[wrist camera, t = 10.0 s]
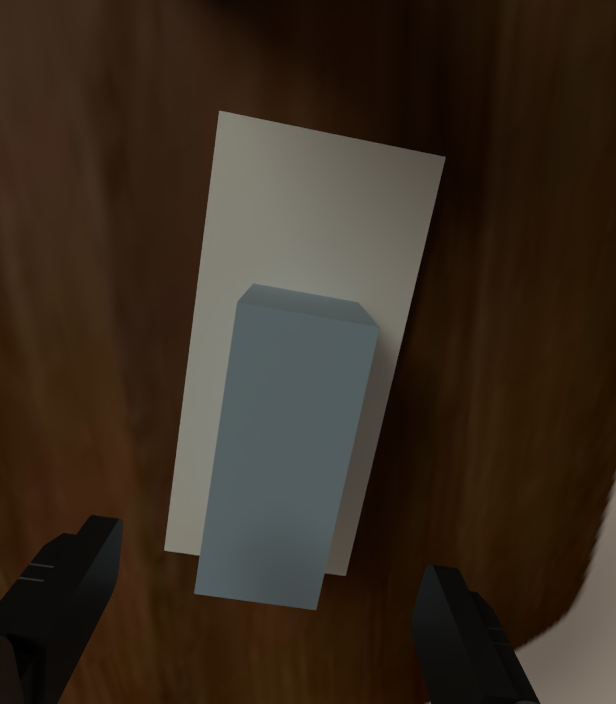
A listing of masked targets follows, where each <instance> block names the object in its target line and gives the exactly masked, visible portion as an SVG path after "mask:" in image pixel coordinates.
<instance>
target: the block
mask: <svg viewBox="0 0 616 704" xmlns="http://www.w3.org/2000/svg"><path fill="white" fill-rule="evenodd" d="M379 328H380V327H379V326H378V325H377V324H376V323H375V321H374V320H373V319H372V318H371V317H370V316H369V314H368V313H367V312H366V311H365V310H364V309H363V307H362V306H361V305H360V304H359V303H358V302H354V301H348V300H343V299H337V298H332V297H326V296H321V295H315V294H309V293H304V292H298V291H293V290H287V289H282V288H276V287H271V286H265V285H260V284H254V283H253V284H252V285H251V287H250V288H249V289H248V290H247V291H246V292H245V294H244V295H243V296H242V297H241V298H240V299H239V301H238V302H237V306H236V313H235V320H234V327H233V333H232V340H231V347H230V354H229V361H228V367H227V374H226V381H225V388H224V395H223V402H222V408H221V415H220V422H219V429H218V436H217V442H216V449H215V456H214V463H213V470H212V476H211V483H210V490H209V497H208V504H207V510H206V517H205V524H204V531H203V538H202V545H201V551H200V558H199V565H198V572H197V579H196V585H195V592H194V594H201V595H208V596H215V597H223V598H230V599H237V600H245V601H252V602H260V603H267V604H274V605H282V606H289V607H296V608H304V609H311V610H316V608H317V604H318V600H319V595H320V591H321V586H322V582H323V577H324V573H325V568H326V564H327V560H328V555H329V551H330V546H331V542H332V537H333V533H334V528H335V524H336V520H337V515H338V511H339V506H340V502H341V497H342V493H343V488H344V484H345V480H346V475H347V471H348V466H349V462H350V457H351V453H352V448H353V444H354V440H355V435H356V431H357V426H358V422H359V417H360V413H361V408H362V404H363V400H364V395H365V391H366V386H367V382H368V377H369V373H370V368H371V364H372V360H373V355H374V351H375V346H376V342H377V337H378V333H379Z"/></svg>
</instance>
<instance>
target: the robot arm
mask: <svg viewBox="0 0 616 704" xmlns="http://www.w3.org/2000/svg"><path fill="white" fill-rule="evenodd" d="M122 529H123V522H122V519H117V518H110V517H103V516H96V515H91V516H90V517H89V518H88V519H87V521H86V522H85V524H84V525H83V526H82V528H81V529H80V531H79V532H78V533H77V535H74V534H67V533H63V534H61V535H60V536H58V537H57V538H55V539H53V540H52V541H50V542H49V543H47V544H46V545H44V546H43V547H42V549H41V550H40V551H39V553H38V554H37V555H36V556H35V558H34V559H33V560H32V561H31V564H30V566H27V568H26V569H25V570H24V572H23V573H22V574H21V575H20V578H19V580H16V582H15V583H14V584H13V585H12V587H11V588H10V589H9V591H8V592H7V593H6V594H5V596H4V597H3V598H2V599H1V601H0V704H57V703H58V701H59V699H60V697H61V695H62V693H63V691H64V689H65V687H66V685H67V683H68V681H69V679H70V677H71V675H72V673H73V671H74V669H75V667H76V665H77V663H78V661H79V659H80V657H81V655H82V653H83V651H84V649H85V647H86V645H87V643H88V641H89V639H90V637H91V635H92V633H93V631H94V629H95V627H96V625H97V623H98V621H99V619H100V617H101V615H102V613H103V611H104V609H105V607H106V605H107V603H108V601H109V599H110V597H111V595H112V593H113V590H114V587H115V584H116V580H117V576H118V571H119V561H120V551H121V540H122ZM412 635H413V640H414V643H415V647H416V650H417V654H418V658H419V661H420V665H421V668H422V672H423V676H424V679H425V683H426V687H427V690H428V694H429V697H430V701H431V704H540V702H539V700H538V698H537V697H536V694H535V692H534V690H533V688H532V686H531V684H530V682H529V680H528V678H527V676H526V674H525V672H524V670H523V668H522V666H521V664H520V662H519V660H518V658H517V656H516V654H515V652H514V650H513V648H512V647H510V642H509V640H508V638H507V637H506V635H505V633H504V631H502V627H501V625H500V623H499V621H498V619H497V617H496V615H495V613H494V611H493V609H492V608H491V607H490V606H489V605H488V604H487V602H486V601H485V600H484V599H483V598H482V597H481V596H480V595H479V594H478V593H477V592H471V591H469V590H468V588H467V586H466V583H465V581H464V579H463V577H462V575H461V573H460V571H459V570H458V569H457V568H450V567H443V566H437V565H428V566H427V567H426V569H425V572H424V575H423V579H422V582H421V585H420V589H419V592H418V596H417V599H416V602H415V606H414V609H413V614H412Z"/></svg>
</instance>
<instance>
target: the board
mask: <svg viewBox="0 0 616 704" xmlns="http://www.w3.org/2000/svg"><path fill="white" fill-rule="evenodd" d="M445 158H446V157H443V156H438V155H433V154H428V153H423V152H419V151H414V150H409V149H404V148H399V147H394V146H389V145H384V144H379V143H375V142H370V141H365V140H360V139H355V138H350V137H345V136H340V135H335V134H330V133H326V132H321V131H316V130H311V129H306V128H301V127H296V126H291V125H286V124H282V123H277V122H272V121H267V120H262V119H257V118H252V117H247V116H242V115H238V114H233V113H228V112H223V111H219V118H218V126H217V134H216V142H215V150H214V158H213V166H212V173H211V181H210V189H209V197H208V205H207V213H206V221H205V229H204V237H203V245H202V253H201V261H200V269H199V277H198V285H197V293H196V301H195V309H194V317H193V325H192V333H191V341H190V349H189V357H188V365H187V373H186V381H185V389H184V397H183V405H182V413H181V421H180V429H179V437H178V445H177V453H176V461H175V469H174V477H173V485H172V493H171V501H170V509H169V517H168V525H167V533H166V541H165V549H164V550H165V551H172V552H179V553H186V554H193V555H200V551H201V545H202V538H203V531H204V524H205V517H206V510H207V504H208V497H209V490H210V483H211V476H212V470H213V463H214V456H215V449H216V442H217V436H218V429H219V422H220V415H221V408H222V402H223V395H224V388H225V381H226V374H227V367H228V361H229V354H230V347H231V340H232V333H233V327H234V320H235V313H236V306H237V302H238V301H239V299H240V298H241V297H242V296H243V295H244V294H245V292H246V291H247V290H248V289H249V288H250V287H251V285H252V284H253V283H254V284H260V285H265V286H271V287H276V288H282V289H287V290H293V291H298V292H304V293H309V294H315V295H321V296H326V297H332V298H337V299H343V300H348V301H354V302H358V303H359V304H360V305H361V306H362V307H363V309H364V310H365V311H366V312H367V313H368V314H369V316H370V317H371V318H372V319H373V320H374V321H375V323H376V324H377V325H378V326H379V327H380V328H379V333H378V337H377V342H376V346H375V351H374V355H373V360H372V364H371V368H370V373H369V377H368V382H367V386H366V391H365V395H364V400H363V404H362V408H361V413H360V417H359V422H358V426H357V431H356V435H355V440H354V444H353V448H352V453H351V457H350V462H349V466H348V471H347V475H346V480H345V484H344V488H343V493H342V497H341V502H340V506H339V511H338V515H337V520H336V524H335V528H334V533H333V537H332V542H331V546H330V551H329V555H328V560H327V564H326V568H325V573H328V574H335V575H342V576H346V572H347V568H348V564H349V560H350V556H351V552H352V547H353V543H354V539H355V535H356V531H357V526H358V522H359V518H360V514H361V510H362V505H363V501H364V497H365V493H366V489H367V485H368V480H369V476H370V472H371V468H372V464H373V459H374V455H375V451H376V447H377V443H378V438H379V434H380V430H381V426H382V422H383V417H384V413H385V409H386V405H387V401H388V397H389V392H390V388H391V384H392V380H393V376H394V371H395V367H396V363H397V359H398V355H399V350H400V346H401V342H402V338H403V334H404V330H405V325H406V321H407V317H408V313H409V309H410V304H411V300H412V296H413V292H414V288H415V283H416V279H417V275H418V271H419V267H420V263H421V258H422V254H423V250H424V246H425V242H426V237H427V233H428V229H429V225H430V221H431V216H432V212H433V208H434V204H435V200H436V195H437V191H438V187H439V183H440V179H441V175H442V170H443V166H444V162H445Z"/></svg>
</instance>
